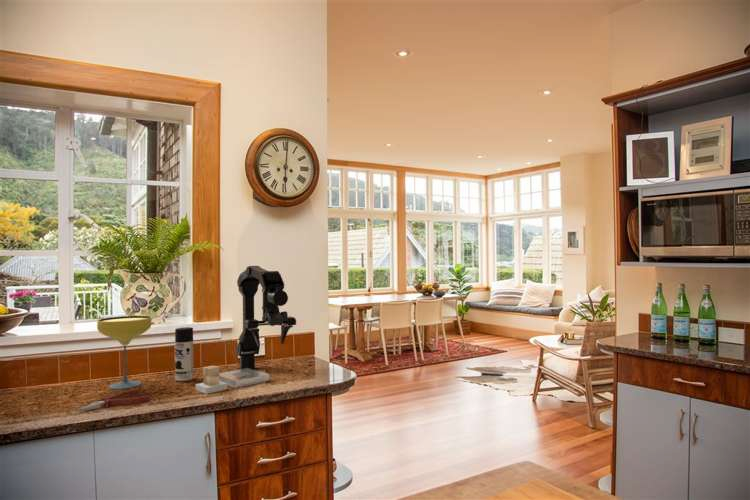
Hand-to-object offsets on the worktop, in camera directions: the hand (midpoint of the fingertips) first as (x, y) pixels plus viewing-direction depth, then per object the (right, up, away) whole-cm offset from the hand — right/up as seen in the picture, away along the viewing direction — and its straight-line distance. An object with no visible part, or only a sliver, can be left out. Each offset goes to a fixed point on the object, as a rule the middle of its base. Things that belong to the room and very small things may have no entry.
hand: (270, 345), depth 182 cm
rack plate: (-12, -14, +2) cm, 18 cm away
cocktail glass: (-54, -15, -3) cm, 56 cm away
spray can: (-35, -15, +6) cm, 38 cm away
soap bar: (-19, -14, -10) cm, 26 cm away
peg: (-19, -12, -10) cm, 25 cm away
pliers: (-46, -15, -24) cm, 54 cm away
